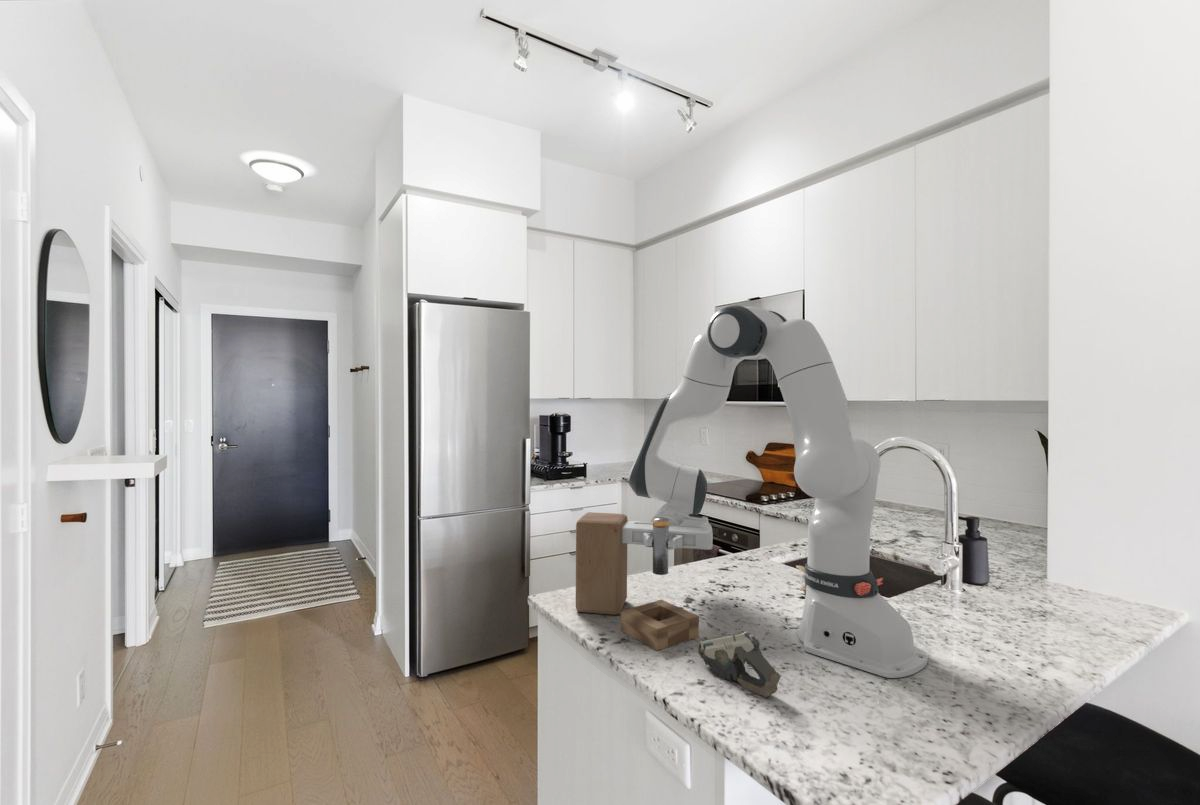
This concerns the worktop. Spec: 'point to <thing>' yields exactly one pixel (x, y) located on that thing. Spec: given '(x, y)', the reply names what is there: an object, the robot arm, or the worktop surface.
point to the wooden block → (601, 563)
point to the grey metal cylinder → (660, 545)
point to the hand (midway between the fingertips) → (659, 544)
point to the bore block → (660, 624)
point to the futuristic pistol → (739, 661)
